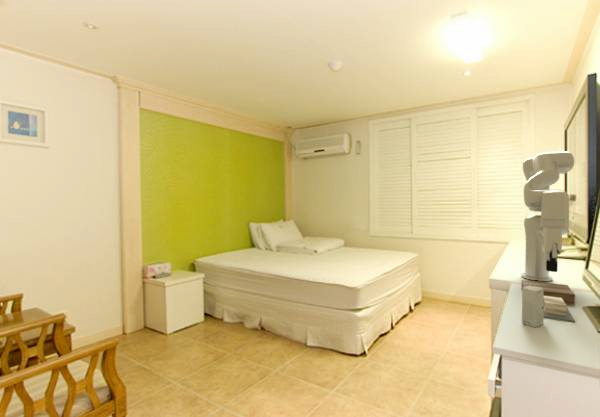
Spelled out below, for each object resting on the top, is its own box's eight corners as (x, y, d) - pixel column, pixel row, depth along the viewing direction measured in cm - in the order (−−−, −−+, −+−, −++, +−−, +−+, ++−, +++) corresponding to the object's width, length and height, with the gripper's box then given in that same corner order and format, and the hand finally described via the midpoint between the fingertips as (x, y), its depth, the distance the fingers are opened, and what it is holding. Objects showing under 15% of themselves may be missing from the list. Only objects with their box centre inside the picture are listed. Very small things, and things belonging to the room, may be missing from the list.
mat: (525, 298, 132) (526, 297, 132) (563, 303, 126) (563, 302, 126) (531, 315, 115) (531, 314, 115) (575, 322, 109) (575, 320, 109)
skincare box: (536, 328, 105) (537, 291, 104) (520, 323, 109) (521, 287, 108) (544, 323, 108) (545, 287, 108) (528, 319, 112) (529, 284, 111)
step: (521, 289, 145) (521, 280, 145) (567, 294, 137) (567, 285, 137) (524, 298, 133) (524, 288, 133) (574, 304, 125) (575, 294, 125)
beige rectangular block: (545, 302, 116) (545, 312, 116) (566, 305, 113) (566, 315, 113) (541, 295, 124) (541, 304, 124) (561, 297, 121) (561, 307, 121)
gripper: (538, 220, 131) (537, 265, 133) (543, 225, 118) (542, 274, 120) (561, 221, 127) (560, 267, 129) (570, 226, 114) (568, 277, 116)
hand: (551, 270), depth 124 cm, fingers closed
